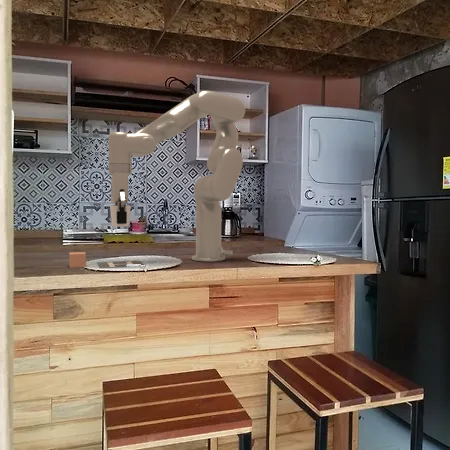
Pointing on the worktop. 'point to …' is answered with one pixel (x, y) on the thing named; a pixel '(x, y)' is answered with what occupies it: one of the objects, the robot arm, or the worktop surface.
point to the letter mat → (117, 264)
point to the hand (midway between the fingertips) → (120, 222)
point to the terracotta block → (77, 259)
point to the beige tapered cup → (114, 215)
